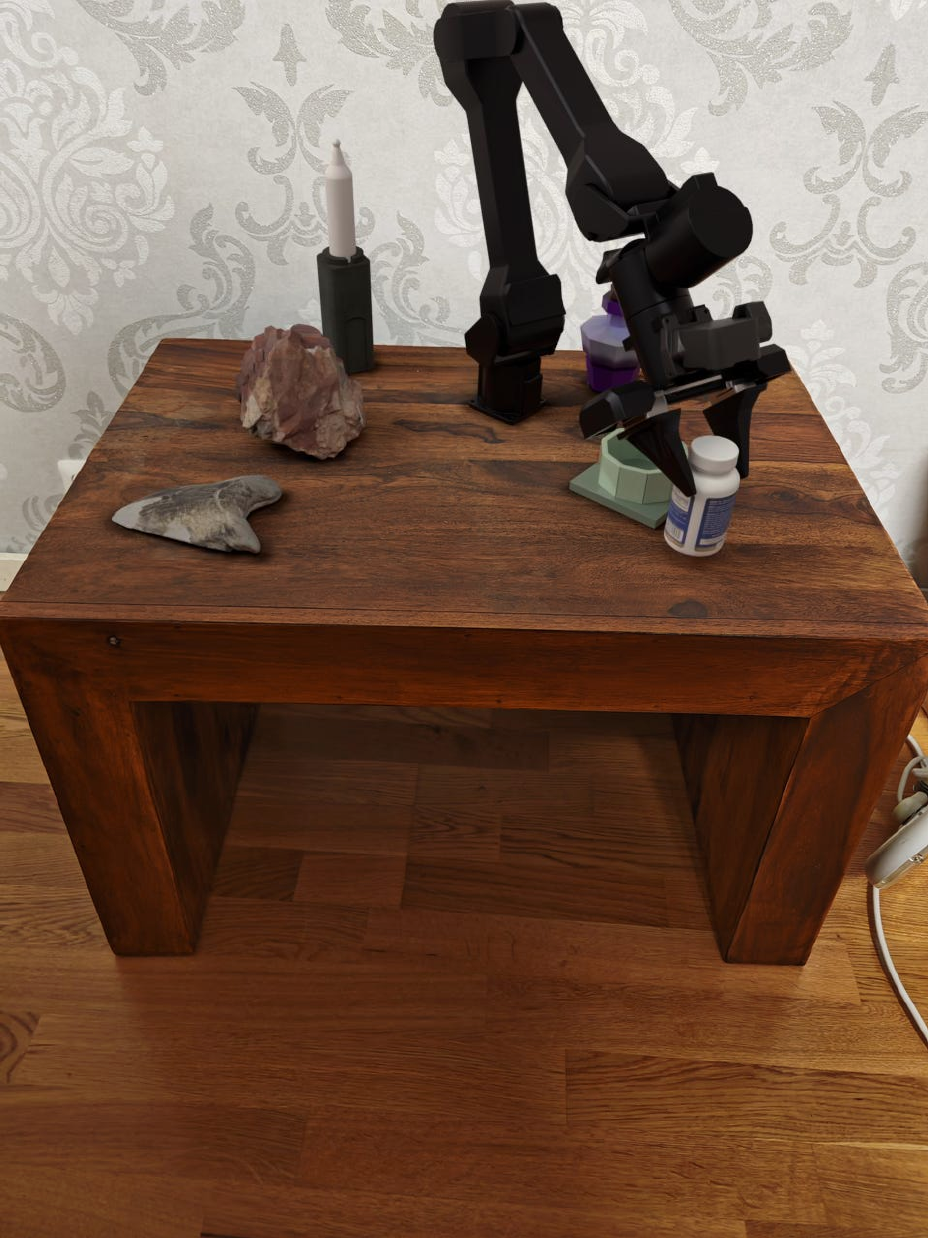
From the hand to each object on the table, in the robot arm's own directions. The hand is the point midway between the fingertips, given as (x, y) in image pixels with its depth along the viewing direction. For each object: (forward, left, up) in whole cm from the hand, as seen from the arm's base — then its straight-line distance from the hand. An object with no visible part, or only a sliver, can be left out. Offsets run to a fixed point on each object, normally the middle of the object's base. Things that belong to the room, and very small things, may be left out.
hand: (717, 487), depth 82 cm
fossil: (-39, -26, -9) cm, 48 cm away
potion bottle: (-25, +23, -9) cm, 36 cm away
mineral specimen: (-44, -8, -9) cm, 46 cm away
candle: (-51, +6, -9) cm, 52 cm away
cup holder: (-11, +7, -9) cm, 16 cm away
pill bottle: (-1, +1, -7) cm, 7 cm away
